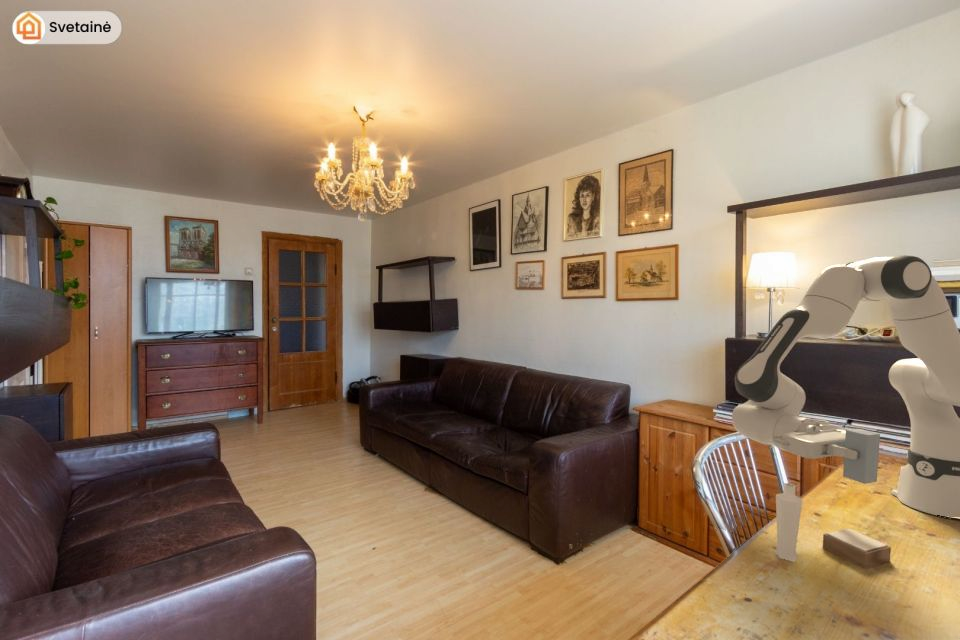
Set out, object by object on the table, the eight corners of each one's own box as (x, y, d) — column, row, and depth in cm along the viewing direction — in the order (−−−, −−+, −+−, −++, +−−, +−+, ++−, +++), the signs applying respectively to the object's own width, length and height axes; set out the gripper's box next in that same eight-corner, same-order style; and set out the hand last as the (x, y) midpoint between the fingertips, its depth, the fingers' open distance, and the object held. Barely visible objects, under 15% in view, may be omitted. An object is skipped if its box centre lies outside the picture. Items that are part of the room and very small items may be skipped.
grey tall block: (855, 474, 97) (857, 428, 96) (876, 481, 93) (880, 433, 93) (842, 476, 95) (845, 429, 95) (864, 483, 92) (867, 435, 91)
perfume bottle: (804, 564, 91) (808, 490, 90) (780, 561, 92) (784, 488, 91) (793, 551, 95) (797, 482, 95) (770, 549, 96) (774, 479, 95)
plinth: (846, 541, 100) (847, 527, 100) (889, 561, 93) (890, 545, 92) (822, 547, 97) (823, 532, 97) (865, 568, 90) (866, 552, 90)
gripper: (768, 425, 102) (834, 443, 89) (827, 419, 110) (896, 435, 97) (766, 452, 103) (832, 474, 90) (826, 444, 110) (895, 464, 97)
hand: (866, 454), depth 93 cm, fingers closed on grey tall block, 4 cm apart
